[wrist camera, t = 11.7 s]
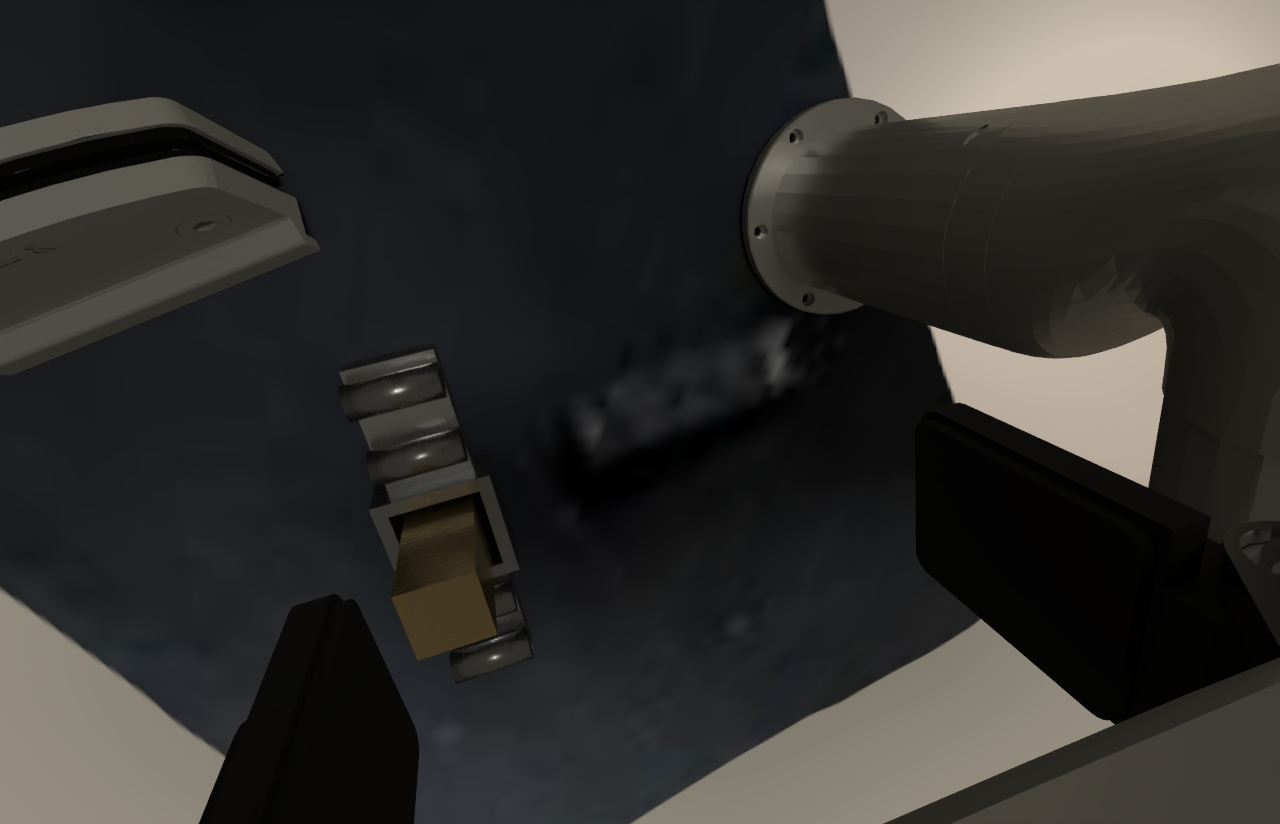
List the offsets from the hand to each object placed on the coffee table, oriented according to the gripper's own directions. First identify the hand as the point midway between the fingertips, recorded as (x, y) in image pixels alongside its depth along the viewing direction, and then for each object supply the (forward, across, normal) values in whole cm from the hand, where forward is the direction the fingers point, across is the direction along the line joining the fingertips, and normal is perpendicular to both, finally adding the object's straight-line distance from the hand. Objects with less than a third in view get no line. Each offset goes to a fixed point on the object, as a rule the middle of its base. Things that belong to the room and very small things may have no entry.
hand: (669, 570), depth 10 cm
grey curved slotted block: (+29, +18, -7) cm, 35 cm away
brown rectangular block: (+28, +8, +13) cm, 32 cm away
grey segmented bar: (+28, +8, +13) cm, 32 cm away
